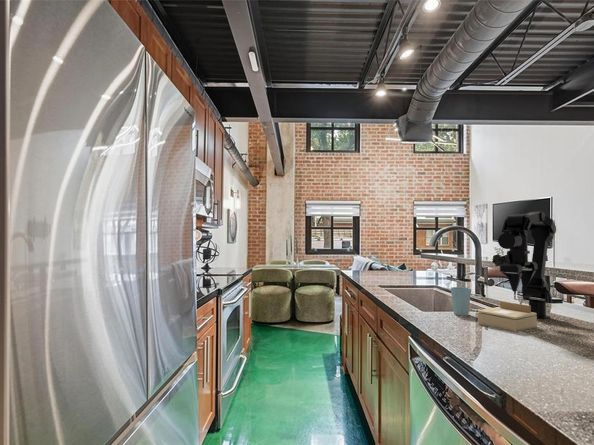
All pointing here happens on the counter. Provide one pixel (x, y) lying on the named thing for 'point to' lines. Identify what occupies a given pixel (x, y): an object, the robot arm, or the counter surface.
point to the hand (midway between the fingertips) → (519, 290)
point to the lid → (510, 310)
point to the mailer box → (507, 322)
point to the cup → (460, 300)
